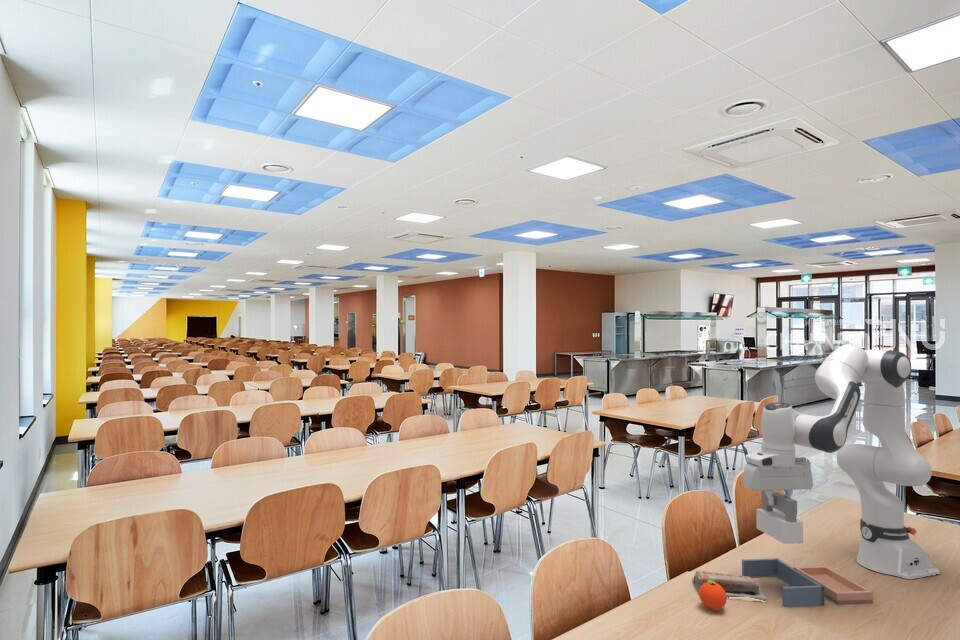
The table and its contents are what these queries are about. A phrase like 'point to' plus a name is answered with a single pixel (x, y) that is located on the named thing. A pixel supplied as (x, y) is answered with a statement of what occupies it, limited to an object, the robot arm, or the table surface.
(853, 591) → the terracotta tray
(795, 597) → the slate bay
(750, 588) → the packaged product
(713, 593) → the clementine
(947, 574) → the table surface
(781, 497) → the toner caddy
